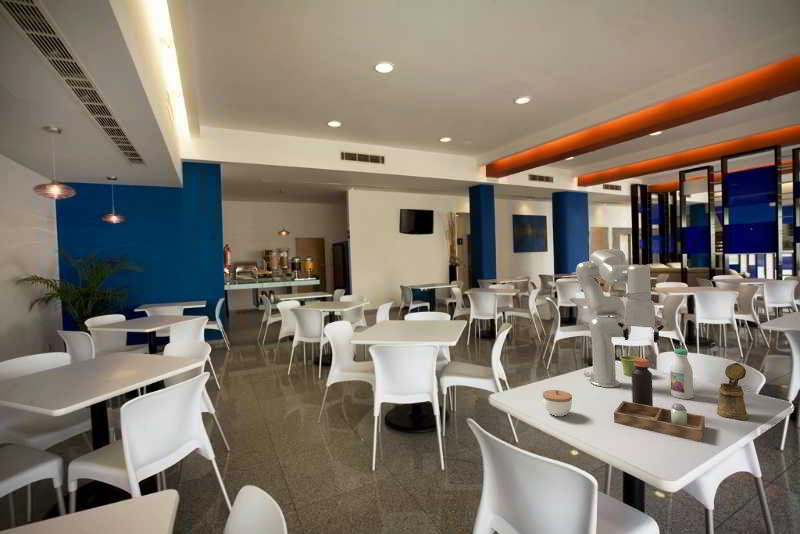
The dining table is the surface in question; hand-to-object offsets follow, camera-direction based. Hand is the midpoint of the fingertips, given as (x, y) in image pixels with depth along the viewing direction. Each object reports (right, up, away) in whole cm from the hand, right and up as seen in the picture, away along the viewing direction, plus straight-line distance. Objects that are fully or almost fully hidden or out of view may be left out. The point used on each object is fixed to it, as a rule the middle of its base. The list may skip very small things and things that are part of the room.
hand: (640, 340), depth 151 cm
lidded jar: (-32, -29, +1) cm, 43 cm away
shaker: (+2, -27, -18) cm, 32 cm away
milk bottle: (+26, -27, +13) cm, 39 cm away
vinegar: (+1, -28, +1) cm, 28 cm away
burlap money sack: (+32, -27, -6) cm, 42 cm away
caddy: (-2, -28, -14) cm, 31 cm away
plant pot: (+23, -26, +44) cm, 56 cm away
